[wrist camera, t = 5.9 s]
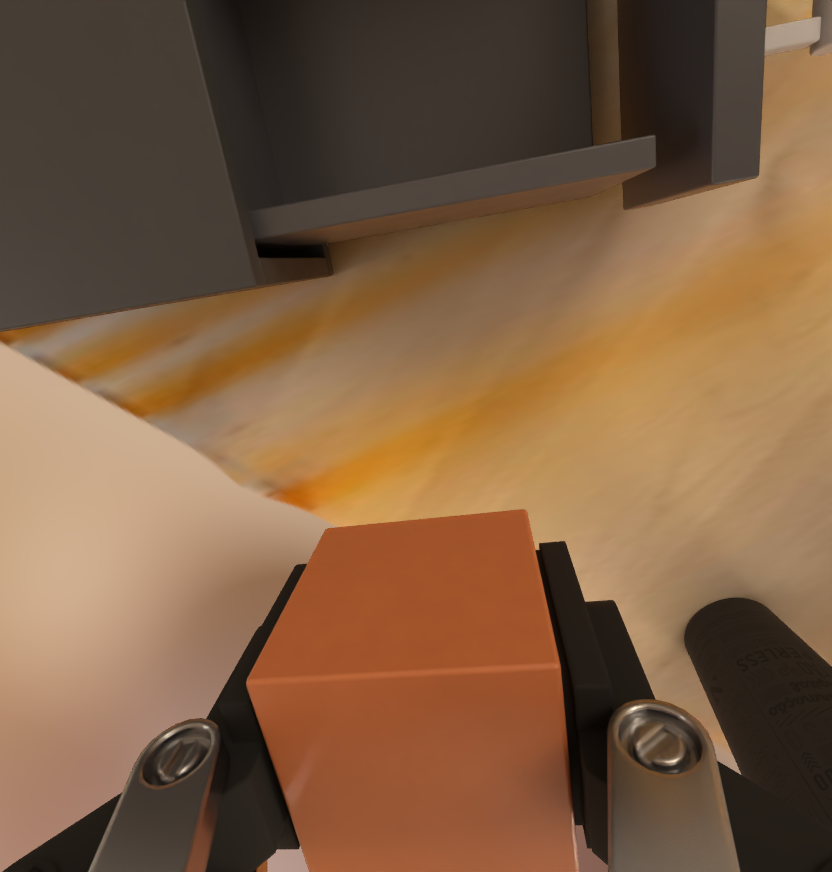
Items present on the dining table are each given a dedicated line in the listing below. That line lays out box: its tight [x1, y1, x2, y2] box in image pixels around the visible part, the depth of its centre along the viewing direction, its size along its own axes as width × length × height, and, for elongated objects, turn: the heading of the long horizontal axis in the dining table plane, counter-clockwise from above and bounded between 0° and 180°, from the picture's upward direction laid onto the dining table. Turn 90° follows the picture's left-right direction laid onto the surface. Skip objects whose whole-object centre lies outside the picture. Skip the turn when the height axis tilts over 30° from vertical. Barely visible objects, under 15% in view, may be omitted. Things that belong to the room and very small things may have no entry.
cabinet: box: [0, 0, 333, 332], centre depth 18 cm, size 17×15×10 cm
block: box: [246, 509, 579, 872], centre depth 10 cm, size 4×4×4 cm
